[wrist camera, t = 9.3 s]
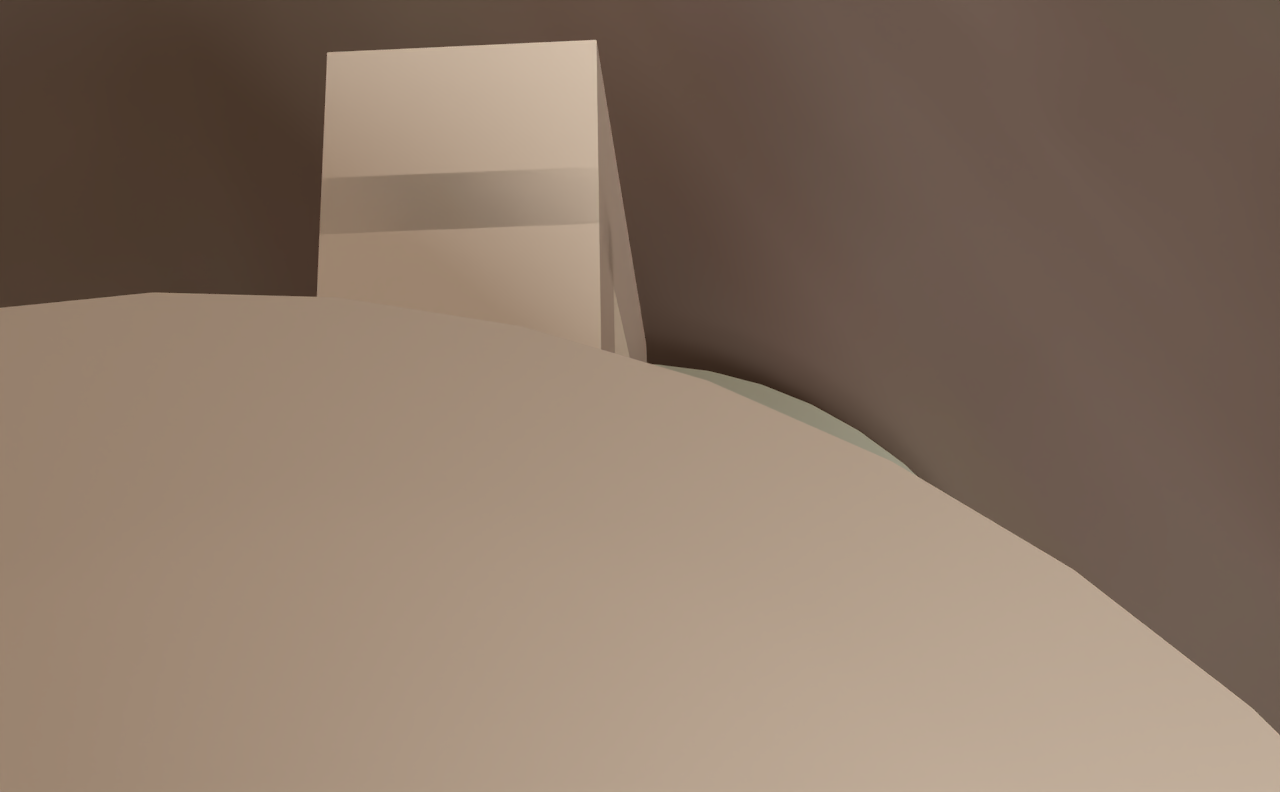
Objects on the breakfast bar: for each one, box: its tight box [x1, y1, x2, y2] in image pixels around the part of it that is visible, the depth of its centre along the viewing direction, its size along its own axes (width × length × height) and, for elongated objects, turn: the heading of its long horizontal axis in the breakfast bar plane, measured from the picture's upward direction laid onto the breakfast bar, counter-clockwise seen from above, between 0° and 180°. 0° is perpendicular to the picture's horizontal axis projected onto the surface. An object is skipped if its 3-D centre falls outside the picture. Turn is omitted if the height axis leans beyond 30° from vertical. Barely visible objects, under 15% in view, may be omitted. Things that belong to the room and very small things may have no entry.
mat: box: [653, 364, 915, 475], centre depth 17 cm, size 13×13×1 cm
